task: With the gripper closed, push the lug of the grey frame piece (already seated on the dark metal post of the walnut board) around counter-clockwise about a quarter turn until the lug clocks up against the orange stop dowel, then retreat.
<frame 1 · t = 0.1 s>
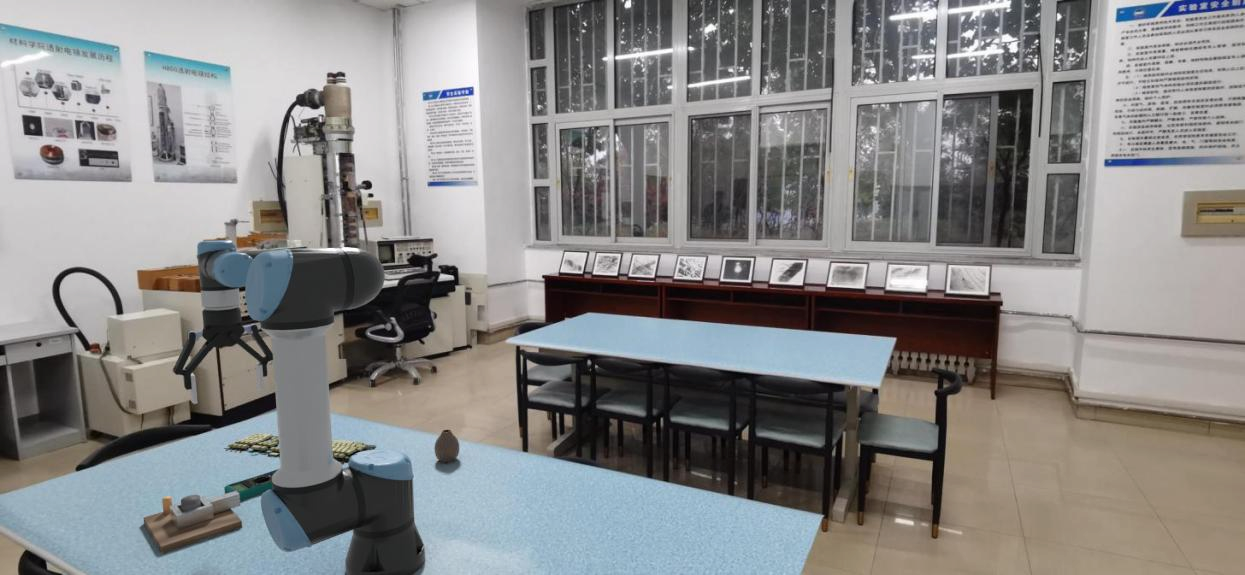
hand: (228, 396, 148), 28 cm above the table, fingers open, 13 cm apart
board: (192, 525, 143), on the table
keyboard: (296, 452, 188), on the table
dowel pin: (168, 518, 146), resting on board
vase: (447, 460, 180), on the table
grey frame piece: (207, 507, 145), point 3 cm above the table, hinge at 0.0°
digital multimeter: (260, 490, 162), on the table
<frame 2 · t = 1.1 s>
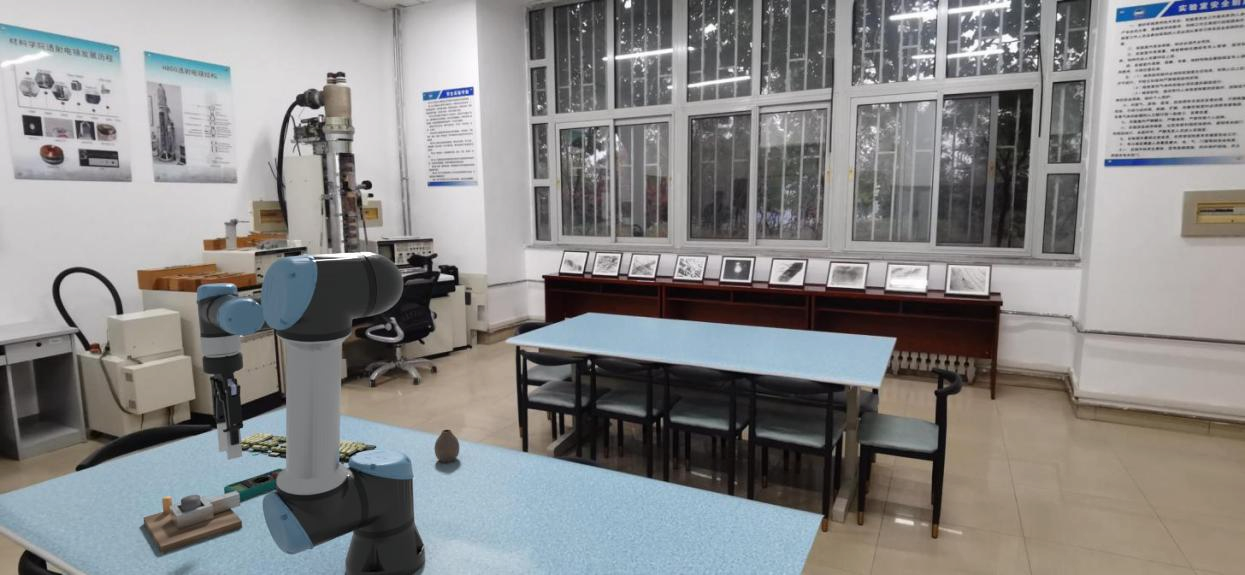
hand: (230, 453, 141), 17 cm above the table, fingers open, 6 cm apart
nothing on the table moved.
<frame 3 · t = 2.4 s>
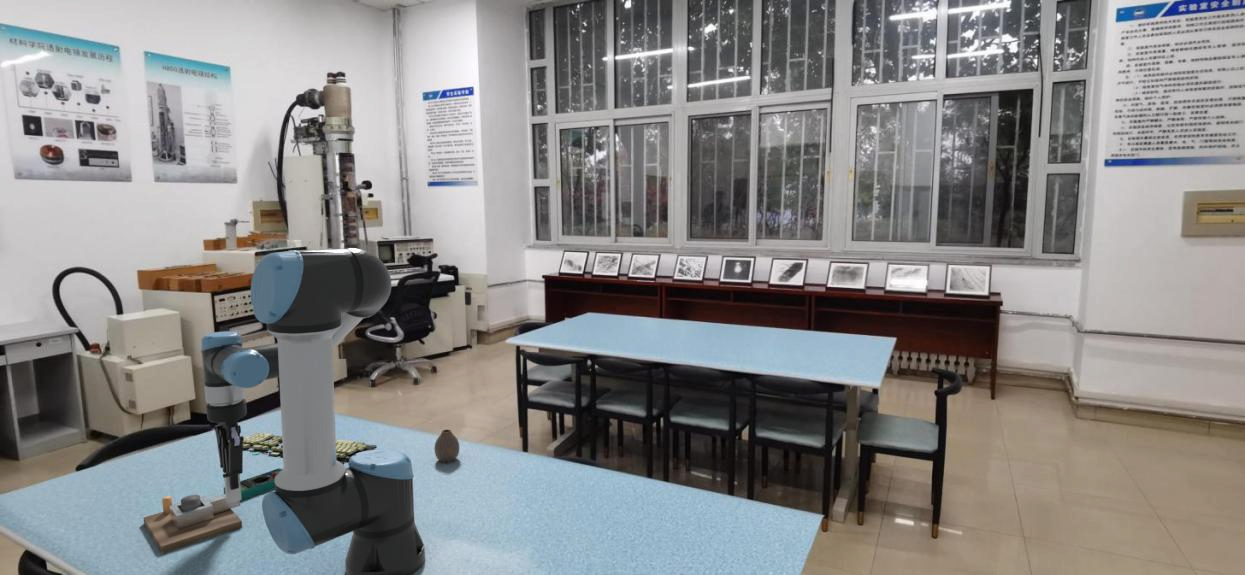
hand: (233, 500, 143), 6 cm above the table, fingers closed
nothing on the table moved.
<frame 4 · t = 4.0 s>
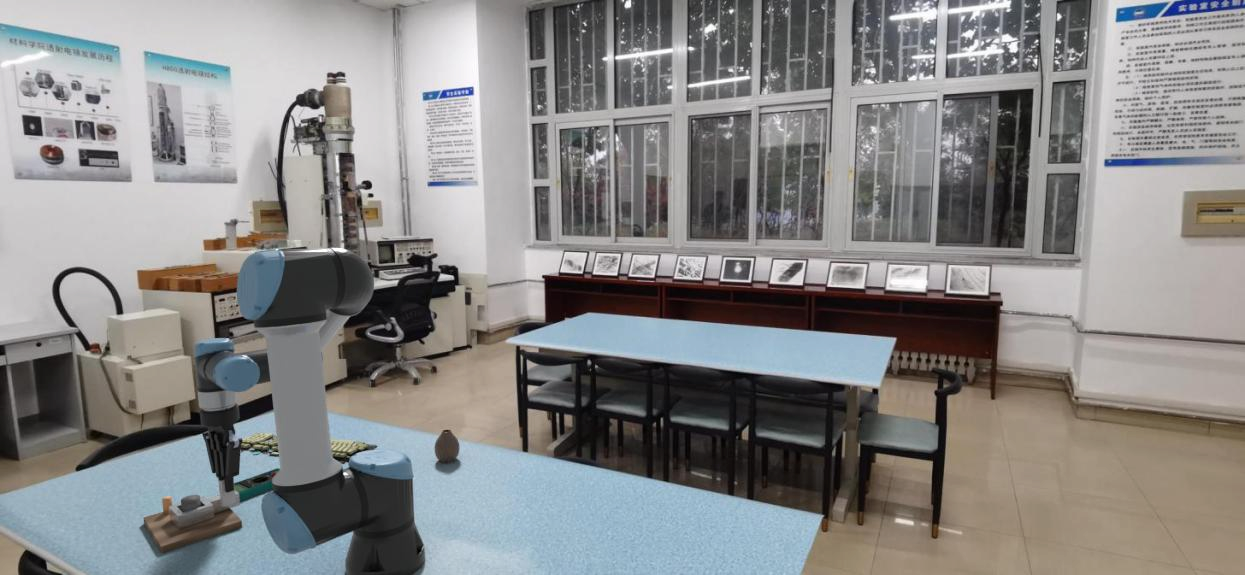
hand: (228, 503, 146), 3 cm above the table, fingers closed
grey frame piece: (206, 507, 145), point 3 cm above the table, hinge at 3.0°, touching gripper
everything else where it was.
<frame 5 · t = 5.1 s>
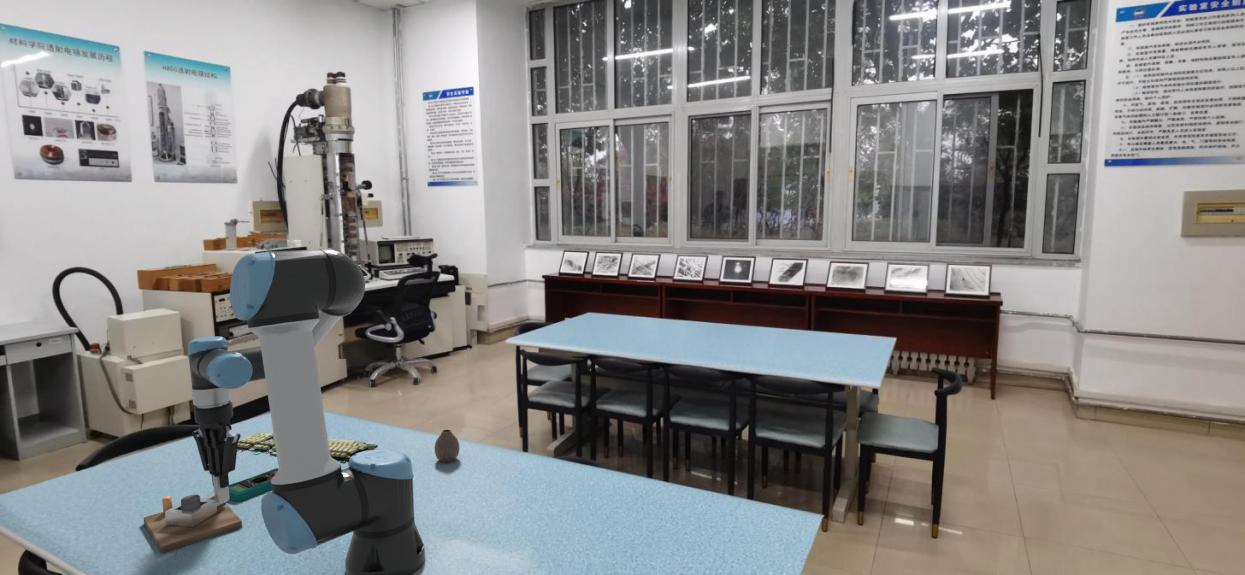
hand: (222, 499, 149), 3 cm above the table, fingers closed
grey frame piece: (202, 505, 145), point 3 cm above the table, hinge at 33.2°, touching gripper
everything else where it was.
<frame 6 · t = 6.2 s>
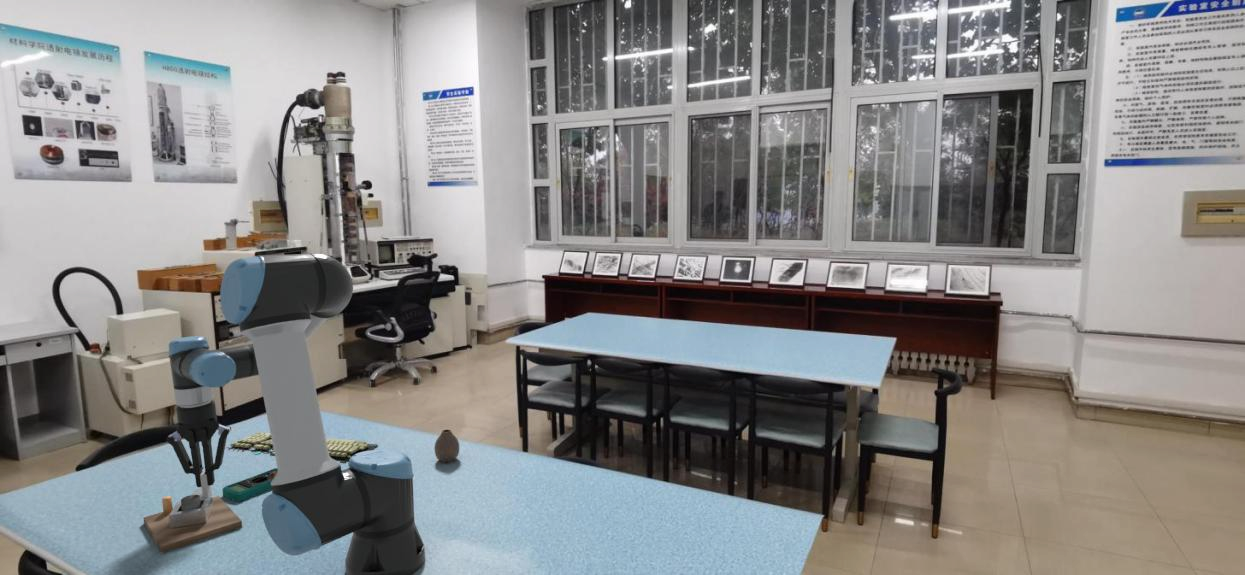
hand: (207, 498, 149), 3 cm above the table, fingers closed
grey frame piece: (195, 506, 145), point 3 cm above the table, hinge at 65.3°, touching gripper
everything else where it was.
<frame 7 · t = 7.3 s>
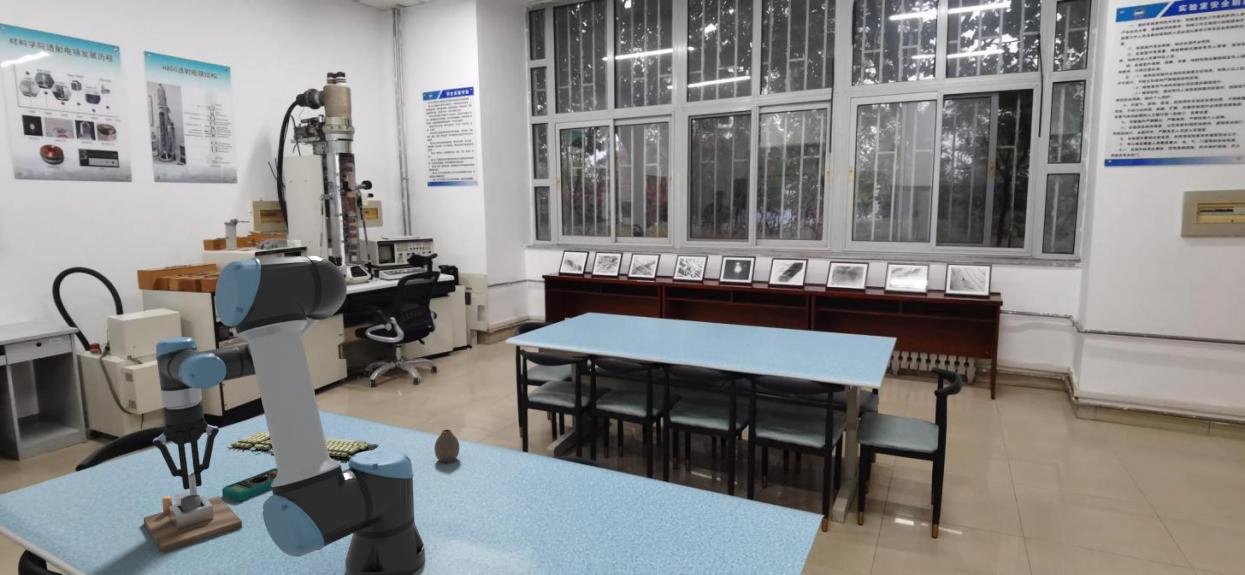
hand: (194, 500, 148), 3 cm above the table, fingers closed
grey frame piece: (188, 507, 145), point 3 cm above the table, hinge at 90.3°, touching gripper
everything else where it was.
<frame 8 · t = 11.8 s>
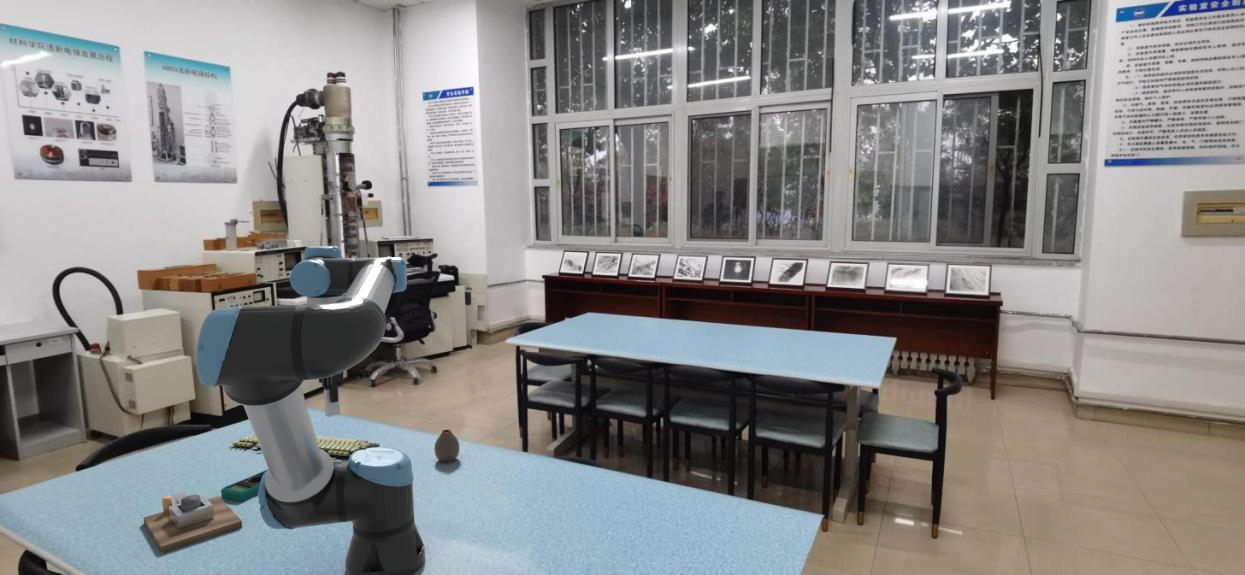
hand: (332, 414, 145), 24 cm above the table, fingers closed
grey frame piece: (187, 507, 144), point 3 cm above the table, hinge at 92.6°
at the end: grey frame piece at +93° (first picture: +0°) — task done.
